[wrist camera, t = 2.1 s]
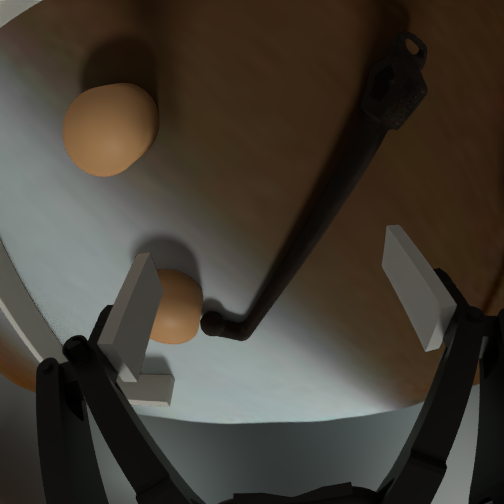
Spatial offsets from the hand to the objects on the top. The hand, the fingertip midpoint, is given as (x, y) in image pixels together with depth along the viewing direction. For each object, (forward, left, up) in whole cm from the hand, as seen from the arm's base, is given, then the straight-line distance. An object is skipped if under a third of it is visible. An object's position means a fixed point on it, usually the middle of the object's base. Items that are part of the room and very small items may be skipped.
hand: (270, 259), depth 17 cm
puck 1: (+10, -8, -8) cm, 14 cm away
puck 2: (+10, +8, -8) cm, 15 cm away
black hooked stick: (-2, 0, -8) cm, 8 cm away
